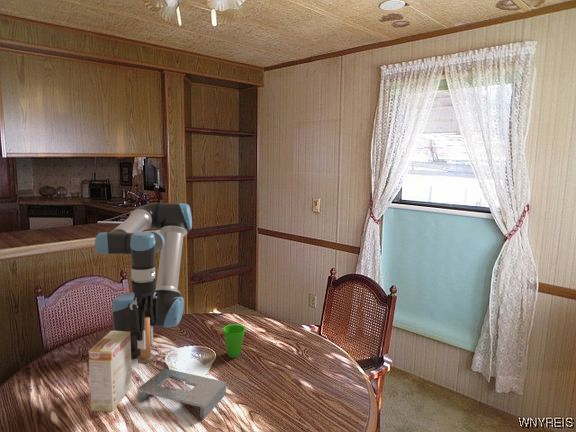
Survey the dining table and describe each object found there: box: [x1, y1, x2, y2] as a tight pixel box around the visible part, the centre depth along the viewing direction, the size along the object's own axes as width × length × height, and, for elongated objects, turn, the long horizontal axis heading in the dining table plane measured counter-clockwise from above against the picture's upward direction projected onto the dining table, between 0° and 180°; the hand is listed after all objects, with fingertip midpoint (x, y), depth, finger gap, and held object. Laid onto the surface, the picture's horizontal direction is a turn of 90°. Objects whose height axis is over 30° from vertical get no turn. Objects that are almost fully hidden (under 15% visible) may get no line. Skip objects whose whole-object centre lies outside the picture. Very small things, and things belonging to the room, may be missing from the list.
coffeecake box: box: [88, 330, 133, 413], centre depth 130 cm, size 15×7×20 cm, turn 178°
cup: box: [222, 323, 247, 359], centre depth 161 cm, size 9×9×11 cm
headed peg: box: [137, 316, 155, 365], centre depth 137 cm, size 5×5×15 cm
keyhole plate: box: [136, 367, 227, 420], centre depth 131 cm, size 24×14×4 cm, turn 71°
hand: (145, 345), depth 137 cm, fingers closed on headed peg, 3 cm apart
